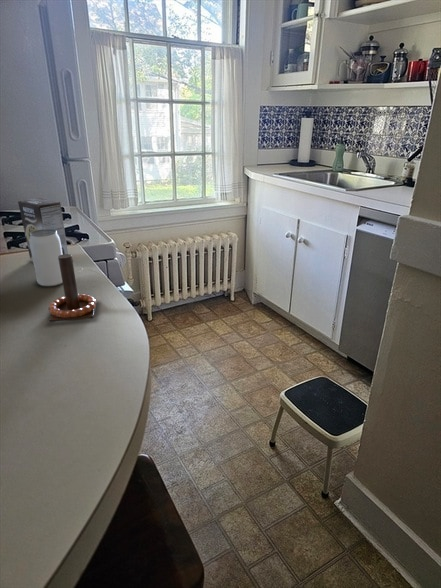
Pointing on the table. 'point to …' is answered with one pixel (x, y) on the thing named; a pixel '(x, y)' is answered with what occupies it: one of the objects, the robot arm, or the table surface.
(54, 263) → the can
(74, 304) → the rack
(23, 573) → the table surface
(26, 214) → the coffee box
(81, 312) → the ring
